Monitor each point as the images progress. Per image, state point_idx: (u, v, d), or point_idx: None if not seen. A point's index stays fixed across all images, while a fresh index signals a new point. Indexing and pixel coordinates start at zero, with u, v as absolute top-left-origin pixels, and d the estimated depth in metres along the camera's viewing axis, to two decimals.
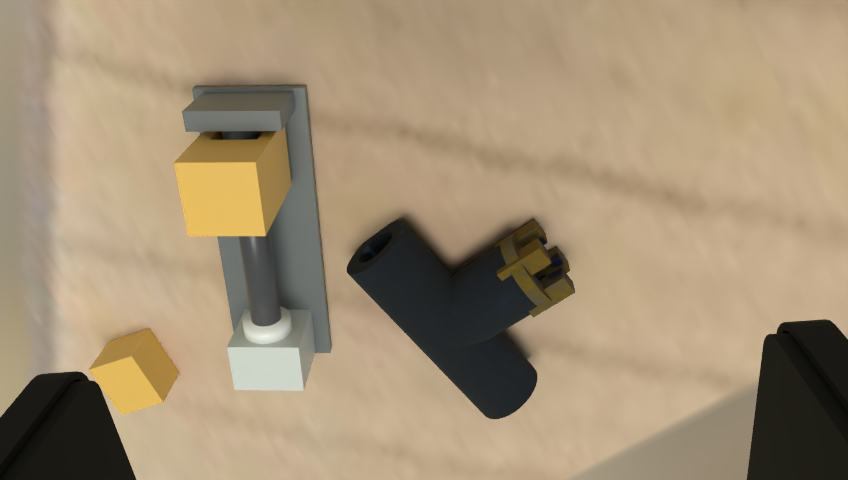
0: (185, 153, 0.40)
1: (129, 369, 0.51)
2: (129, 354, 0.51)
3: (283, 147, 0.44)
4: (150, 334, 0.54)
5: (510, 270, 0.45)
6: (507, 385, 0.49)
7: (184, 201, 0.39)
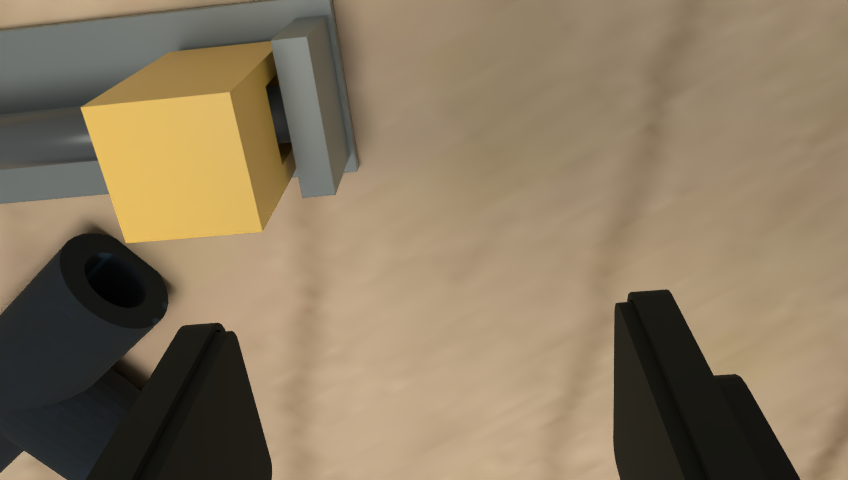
0: (243, 85, 0.22)
1: None
2: None
3: None
4: None
5: None
6: None
7: (153, 106, 0.20)
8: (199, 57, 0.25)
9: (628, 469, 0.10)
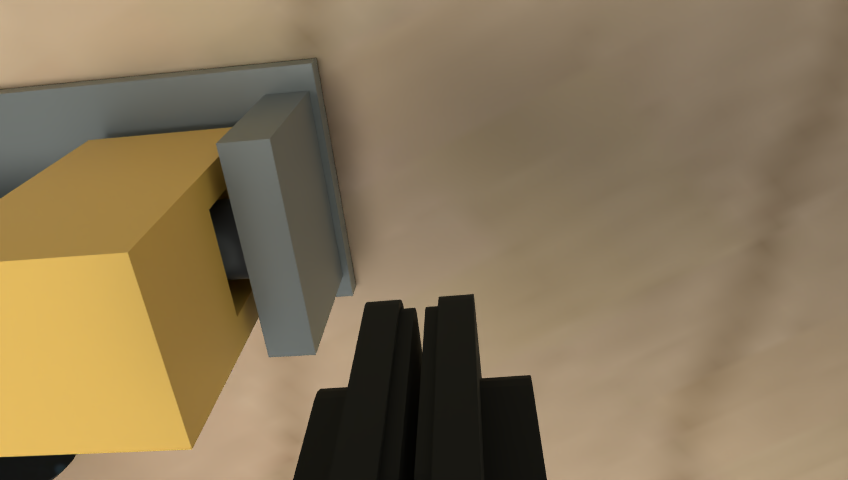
0: (161, 226, 0.14)
1: None
2: None
3: None
4: None
5: None
6: None
7: (8, 270, 0.13)
8: (121, 156, 0.17)
9: None
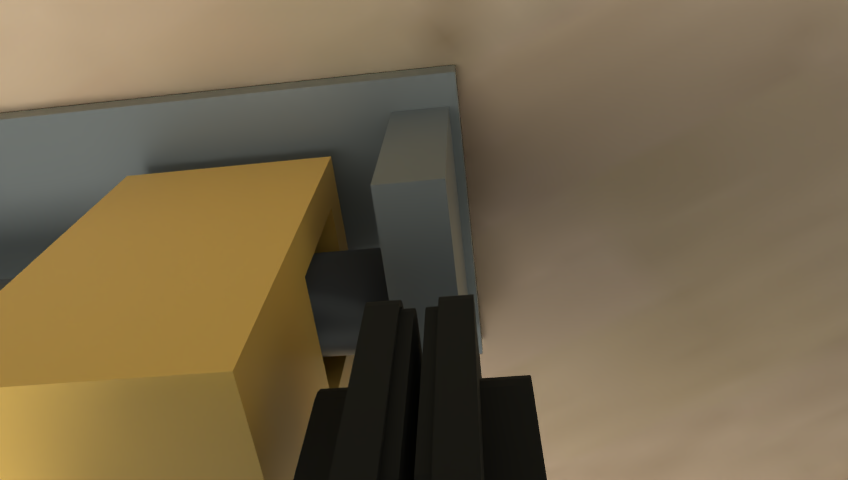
0: (264, 317, 0.10)
1: None
2: None
3: None
4: None
5: None
6: None
7: (54, 396, 0.09)
8: (177, 201, 0.13)
9: None
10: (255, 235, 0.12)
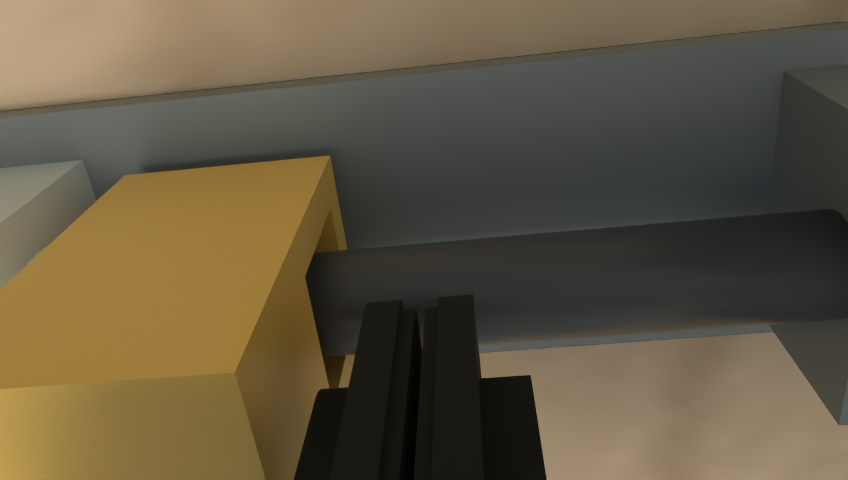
0: (265, 318, 0.10)
1: None
2: None
3: None
4: None
5: None
6: None
7: (54, 398, 0.09)
8: (175, 201, 0.13)
9: None
10: (255, 235, 0.12)
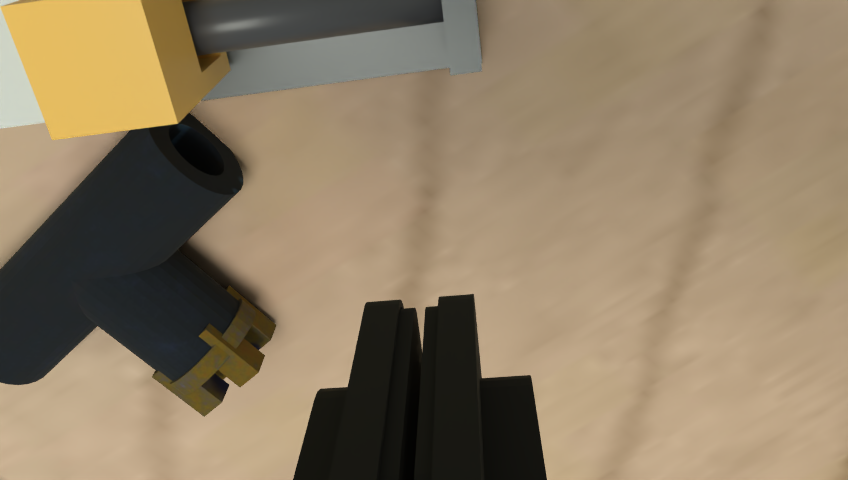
0: None
1: None
2: None
3: None
4: None
5: (217, 344, 0.33)
6: (27, 359, 0.34)
7: (67, 3, 0.22)
8: None
9: None
10: None
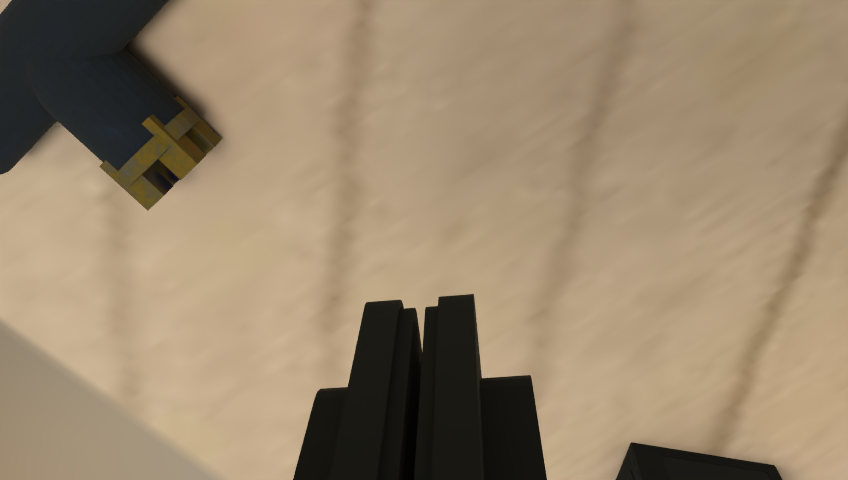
0: None
1: None
2: None
3: None
4: None
5: (159, 133, 0.36)
6: None
7: None
8: None
9: None
10: None
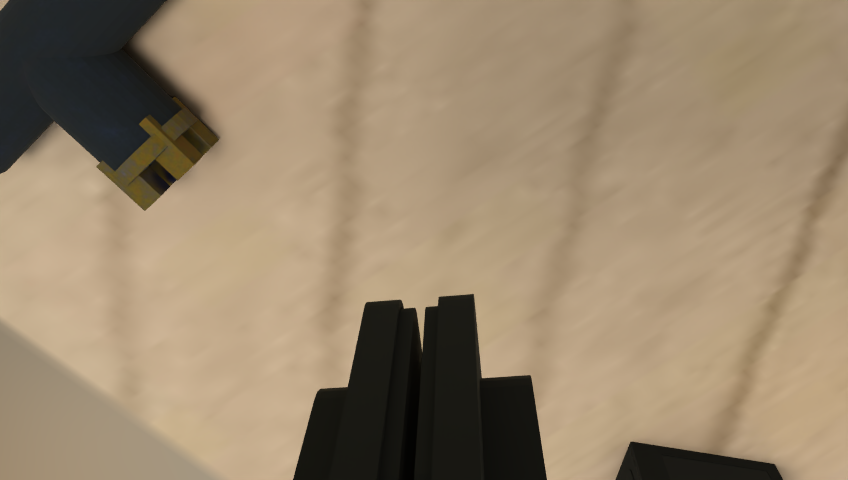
0: None
1: None
2: None
3: None
4: None
5: (156, 133, 0.36)
6: None
7: None
8: None
9: None
10: None
